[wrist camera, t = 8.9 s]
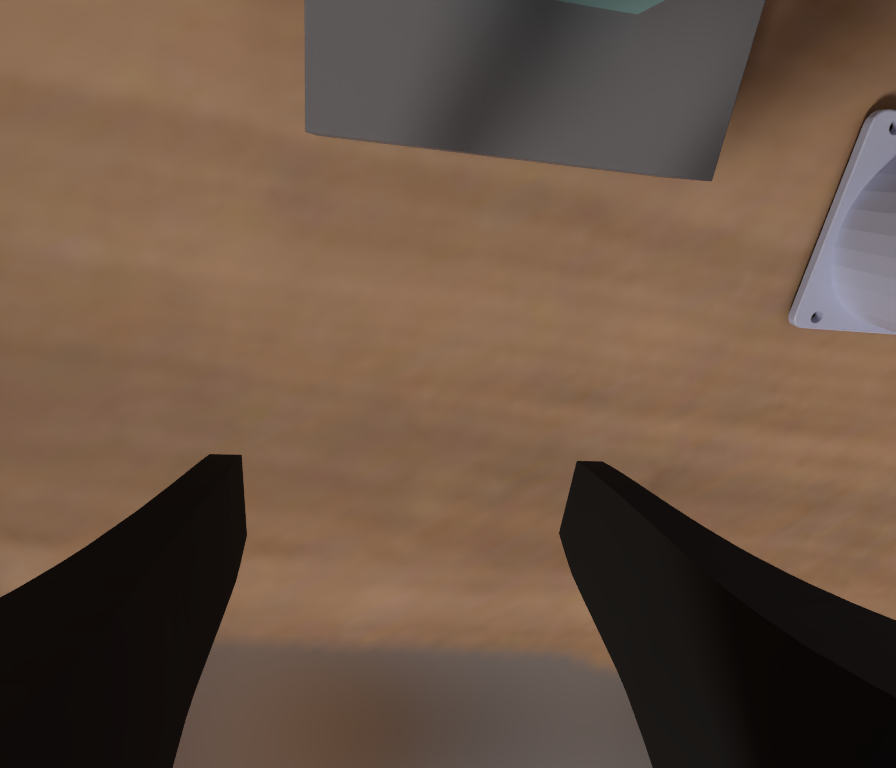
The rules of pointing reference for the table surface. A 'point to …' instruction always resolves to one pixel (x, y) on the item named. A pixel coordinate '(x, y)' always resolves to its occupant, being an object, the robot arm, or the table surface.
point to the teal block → (618, 4)
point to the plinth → (532, 79)
